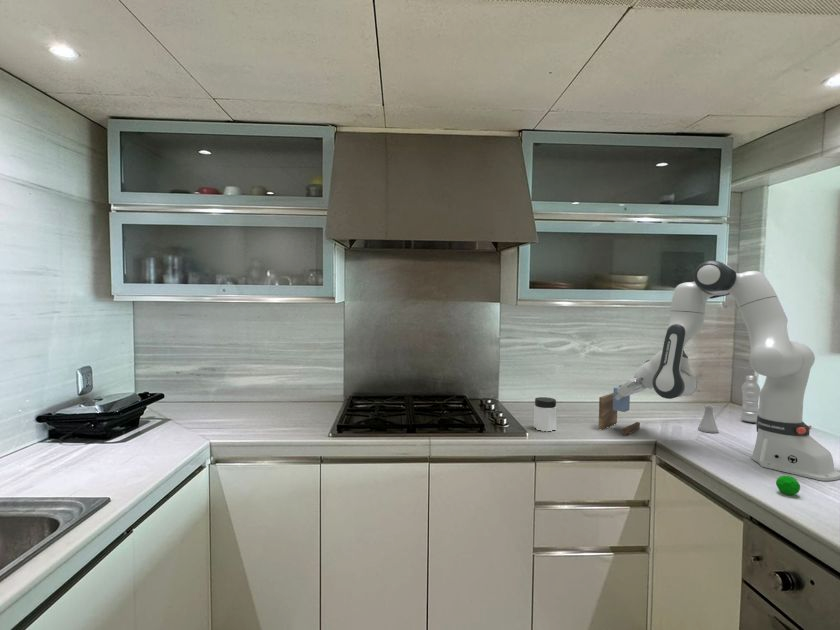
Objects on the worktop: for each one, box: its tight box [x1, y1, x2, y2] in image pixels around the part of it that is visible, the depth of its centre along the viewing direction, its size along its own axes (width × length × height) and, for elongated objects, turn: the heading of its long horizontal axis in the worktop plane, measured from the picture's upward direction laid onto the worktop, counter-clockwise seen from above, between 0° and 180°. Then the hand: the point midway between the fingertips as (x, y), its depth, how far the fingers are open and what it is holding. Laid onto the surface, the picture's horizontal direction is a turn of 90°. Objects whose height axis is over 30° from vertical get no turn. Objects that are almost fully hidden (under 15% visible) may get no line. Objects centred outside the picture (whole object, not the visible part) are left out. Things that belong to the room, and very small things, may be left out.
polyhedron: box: [775, 475, 801, 496], centre depth 123 cm, size 5×5×5 cm
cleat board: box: [598, 392, 641, 436], centre depth 183 cm, size 11×14×13 cm
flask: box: [697, 404, 719, 434], centre depth 182 cm, size 7×7×10 cm
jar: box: [533, 396, 558, 432], centre depth 182 cm, size 9×8×12 cm
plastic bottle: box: [740, 374, 761, 423], centre depth 196 cm, size 6×7×20 cm
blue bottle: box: [612, 384, 631, 413], centre depth 183 cm, size 4×5×10 cm
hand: (620, 397), depth 183 cm, fingers closed on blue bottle, 5 cm apart
